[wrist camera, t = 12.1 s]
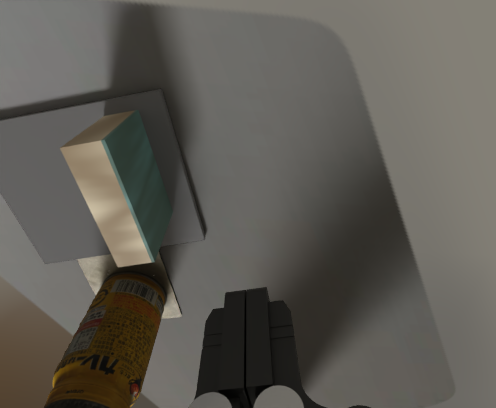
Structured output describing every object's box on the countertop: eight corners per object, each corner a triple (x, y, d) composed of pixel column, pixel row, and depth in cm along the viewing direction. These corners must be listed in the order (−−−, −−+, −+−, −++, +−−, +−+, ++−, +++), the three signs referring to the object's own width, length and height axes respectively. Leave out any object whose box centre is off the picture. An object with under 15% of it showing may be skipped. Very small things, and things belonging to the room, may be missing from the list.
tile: (104, 139, 17) (154, 261, 21) (138, 109, 22) (173, 211, 26) (59, 147, 17) (117, 267, 21) (103, 116, 22) (143, 216, 26)
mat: (205, 235, 28) (204, 240, 27) (48, 259, 29) (44, 264, 28) (161, 88, 22) (159, 90, 21) (-34, 126, 23) (-40, 128, 22)
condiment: (110, 322, 33) (48, 465, 23) (76, 255, 29) (-19, 393, 18) (182, 314, 32) (152, 457, 22) (158, 246, 28) (108, 381, 18)
